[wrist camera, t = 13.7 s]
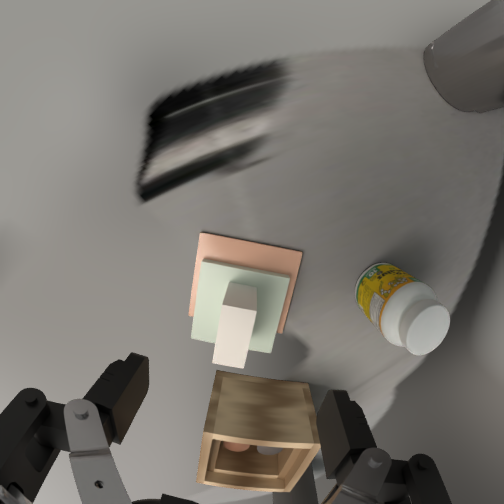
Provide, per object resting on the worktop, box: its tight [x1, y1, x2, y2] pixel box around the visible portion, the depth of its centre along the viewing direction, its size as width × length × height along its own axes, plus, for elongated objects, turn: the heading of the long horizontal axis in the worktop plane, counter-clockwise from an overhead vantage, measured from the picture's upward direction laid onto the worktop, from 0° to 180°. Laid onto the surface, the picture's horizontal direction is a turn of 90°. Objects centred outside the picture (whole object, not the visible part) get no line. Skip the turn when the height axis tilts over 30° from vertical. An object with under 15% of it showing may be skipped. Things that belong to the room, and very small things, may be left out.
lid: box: [191, 259, 290, 369], centre depth 22 cm, size 8×8×6 cm
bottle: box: [273, 463, 318, 504], centre depth 23 cm, size 6×6×15 cm
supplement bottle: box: [355, 263, 450, 355], centre depth 20 cm, size 5×5×10 cm
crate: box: [196, 370, 321, 492], centre depth 24 cm, size 10×10×9 cm
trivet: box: [189, 232, 302, 333], centre depth 25 cm, size 9×8×1 cm
